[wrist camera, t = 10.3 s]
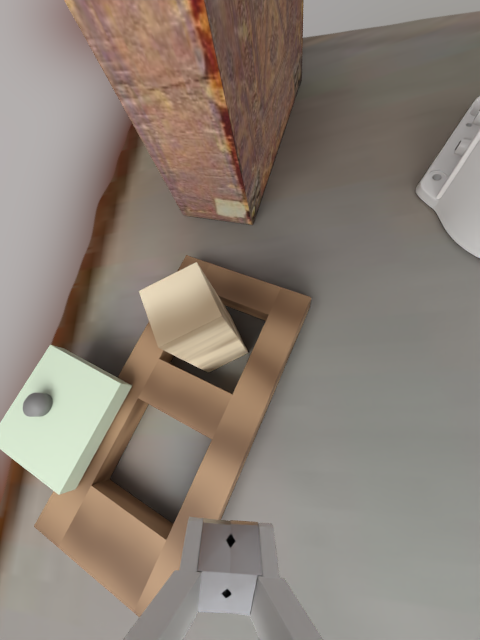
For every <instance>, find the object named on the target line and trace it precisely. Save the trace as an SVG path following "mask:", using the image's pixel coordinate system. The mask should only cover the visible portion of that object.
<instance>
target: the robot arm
mask: <svg viewBox="0 0 480 640" xmlns="http://www.w3.org/2000/svg"><path fill="white" fill-rule="evenodd" d="M416 193H417V195H418V196H419V197H420V199H422V200H423V201H424V202H425V203H426V204H427V205H429V206H430V207H431V208H433V209H434V210H435V212H436V213H437V215H438V217H439V219H440V221H441V223H442V225H443V226H444V228H445V230H446V231H447V233H448V234H449V235H450V236H451V237H452V238H453V240H454V241H455V242H456V243H458V244H459V245H460V246H461V247H462V248H464V249H465V250H466V251H468V252H469V253H471V254H473V255H474V256H476V257H478V258H480V96H479V97H478V98H476V99H475V101H474V102H473V103H472V105H471V106H470V108H469V109H468V111H467V112H466V114H465V115H464V117H463V118H462V120H461V121H460V123H459V124H458V126H457V127H456V129H455V130H454V132H453V133H452V134H451V136H450V137H449V139H448V140H447V142H446V143H445V145H444V146H443V148H442V149H441V151H440V152H439V154H438V155H437V157H436V158H435V160H434V161H433V163H432V164H431V166H430V167H429V169H428V170H427V172H426V173H425V175H424V176H423V178H422V179H421V181H420V182H419V184H418V185H417V187H416ZM202 525H203V526H202ZM197 612H212V613H230V614H240V615H249V616H250V619H251V621H252V623H253V626H254V628H255V631H256V633H257V635H258V638H259V640H323V638H322V637H321V635H320V634H319V632H318V631H317V629H316V627H315V626H314V624H313V623H312V621H311V619H310V618H309V616H308V615H307V613H306V612H305V610H304V608H303V607H302V605H301V604H300V602H299V601H298V599H297V597H296V596H295V594H294V593H293V591H292V590H291V588H290V586H289V585H288V583H287V582H286V580H285V579H284V578H280V575H279V567H278V559H277V551H276V543H275V536H274V528H273V525H272V524H271V523H258V522H249V521H233V520H231V521H226V520H217V519H207V518H204V519H203V518H197V517H189V519H188V523H187V529H186V534H185V540H184V546H183V552H182V557H181V563H180V569H179V570H175V571H174V572H173V573H172V575H171V576H170V577H169V579H168V580H167V581H166V583H165V584H164V585H163V587H162V588H161V589H160V591H159V592H158V593H157V595H156V596H155V597H154V599H153V600H152V601H151V603H150V604H149V605H148V607H147V608H146V609H145V611H144V612H143V613H142V615H141V616H140V617H139V619H138V620H137V621H136V623H135V624H134V626H133V627H132V628H131V630H130V631H129V632H128V634H127V635H126V636H125V638H124V639H123V640H183V639H184V637H185V636H186V634H187V632H188V630H189V628H190V626H191V624H192V623H193V621H194V619H195V617H196V615H197Z"/></svg>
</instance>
